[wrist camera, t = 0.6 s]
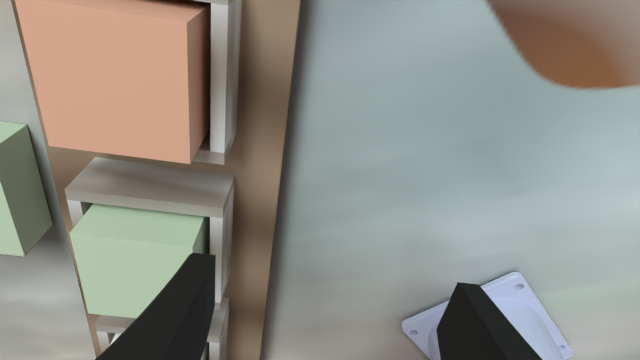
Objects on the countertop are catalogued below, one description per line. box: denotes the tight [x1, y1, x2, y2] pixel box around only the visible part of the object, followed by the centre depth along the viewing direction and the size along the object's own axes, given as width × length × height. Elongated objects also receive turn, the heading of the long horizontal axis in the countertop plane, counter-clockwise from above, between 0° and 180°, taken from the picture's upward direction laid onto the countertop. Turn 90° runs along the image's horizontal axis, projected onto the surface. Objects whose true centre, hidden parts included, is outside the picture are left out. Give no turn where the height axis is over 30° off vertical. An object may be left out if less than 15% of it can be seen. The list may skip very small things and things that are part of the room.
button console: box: [11, 0, 301, 360], centre depth 19 cm, size 28×10×4 cm, turn 172°
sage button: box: [69, 203, 210, 318], centre depth 17 cm, size 4×4×3 cm
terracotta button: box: [15, 0, 211, 164], centre depth 13 cm, size 4×4×3 cm
